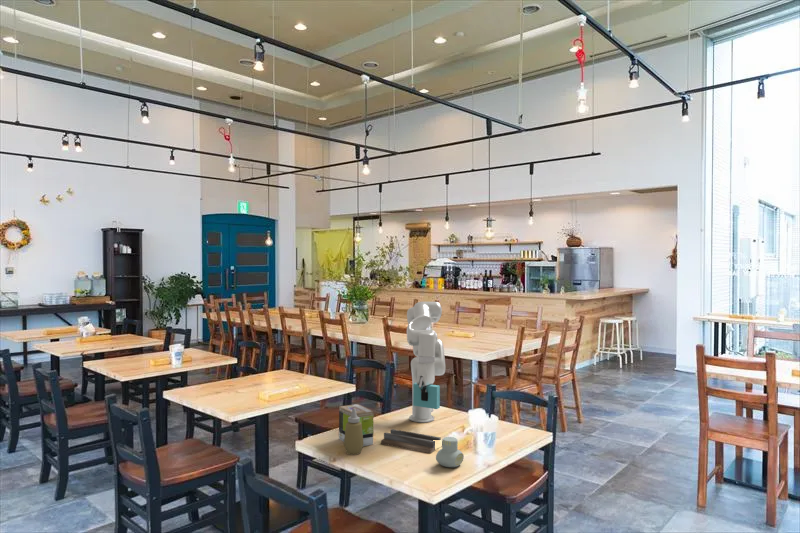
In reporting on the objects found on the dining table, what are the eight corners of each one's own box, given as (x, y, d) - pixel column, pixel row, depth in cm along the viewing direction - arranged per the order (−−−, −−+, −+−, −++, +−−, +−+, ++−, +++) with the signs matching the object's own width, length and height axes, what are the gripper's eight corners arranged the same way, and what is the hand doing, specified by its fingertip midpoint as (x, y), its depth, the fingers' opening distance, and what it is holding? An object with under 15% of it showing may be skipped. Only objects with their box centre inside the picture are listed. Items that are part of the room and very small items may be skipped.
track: (394, 436, 238) (394, 427, 238) (443, 445, 226) (443, 435, 226) (380, 443, 228) (380, 434, 228) (430, 453, 216) (430, 443, 216)
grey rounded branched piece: (452, 471, 196) (452, 444, 196) (433, 467, 201) (433, 440, 201) (465, 463, 205) (465, 437, 205) (447, 458, 210) (447, 433, 210)
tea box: (374, 444, 227) (374, 410, 227) (353, 448, 221) (353, 413, 221) (358, 435, 239) (358, 402, 240) (338, 439, 234) (338, 405, 234)
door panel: (416, 404, 244) (416, 382, 244) (439, 407, 238) (439, 385, 238) (413, 405, 242) (413, 383, 241) (436, 409, 236) (437, 387, 236)
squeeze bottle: (341, 450, 219) (341, 407, 219) (359, 448, 222) (360, 405, 222) (347, 457, 211) (347, 412, 211) (366, 454, 214) (366, 410, 215)
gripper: (427, 356, 249) (426, 394, 249) (410, 361, 234) (410, 402, 235) (441, 357, 245) (441, 396, 245) (426, 363, 231) (425, 405, 231)
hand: (426, 399), depth 240 cm, fingers closed on door panel, 3 cm apart
